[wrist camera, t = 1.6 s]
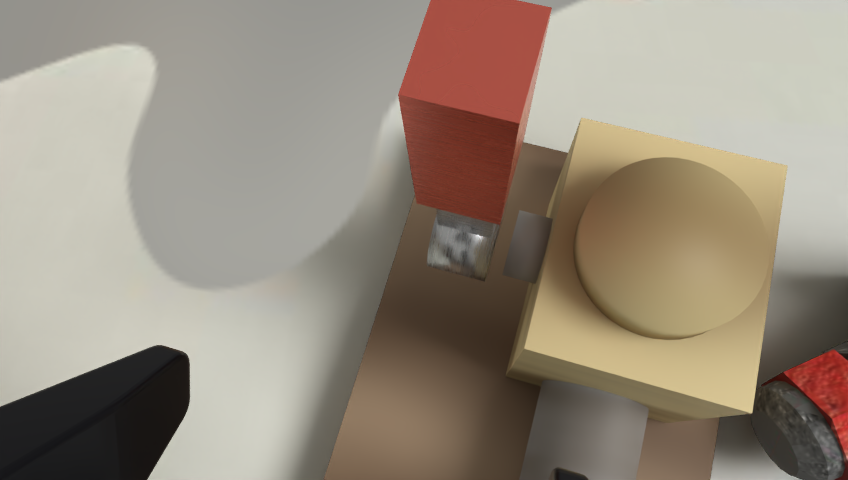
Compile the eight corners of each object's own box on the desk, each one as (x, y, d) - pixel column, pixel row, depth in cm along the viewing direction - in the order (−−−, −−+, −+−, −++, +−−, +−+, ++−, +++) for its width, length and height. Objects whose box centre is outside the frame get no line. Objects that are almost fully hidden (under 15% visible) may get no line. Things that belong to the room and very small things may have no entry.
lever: (486, 291, 18) (515, 136, 9) (425, 275, 18) (394, 106, 9) (507, 214, 19) (555, -4, 10) (448, 199, 19) (440, -28, 10)
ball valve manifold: (652, 717, 19) (804, 927, 10) (296, 592, 20) (187, 691, 12) (735, 213, 23) (886, 86, 15) (439, 140, 24) (430, -11, 16)
